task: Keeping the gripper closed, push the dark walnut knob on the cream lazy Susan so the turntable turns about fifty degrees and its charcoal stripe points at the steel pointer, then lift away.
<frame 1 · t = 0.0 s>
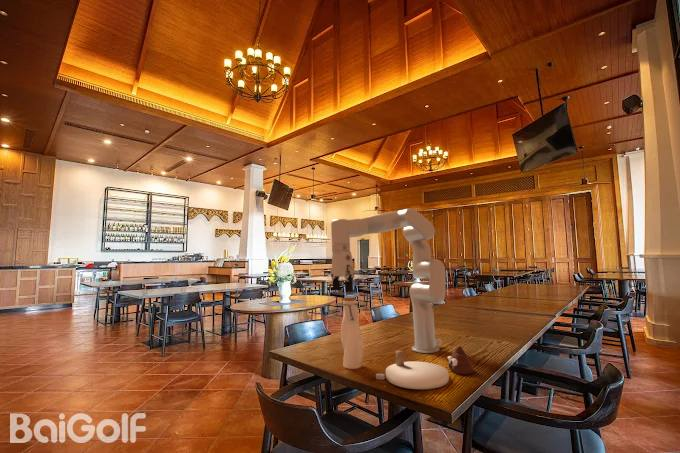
hand: (342, 290, 129), 31 cm above the table, tool pointing down, fingers open, 9 cm apart
poop emoji: (460, 371, 120), on the table
pointer: (380, 378, 115), on the table
water bottle: (353, 366, 130), on the table
turntable: (416, 366, 114), point 4 cm above the table, hinge at 0.0°
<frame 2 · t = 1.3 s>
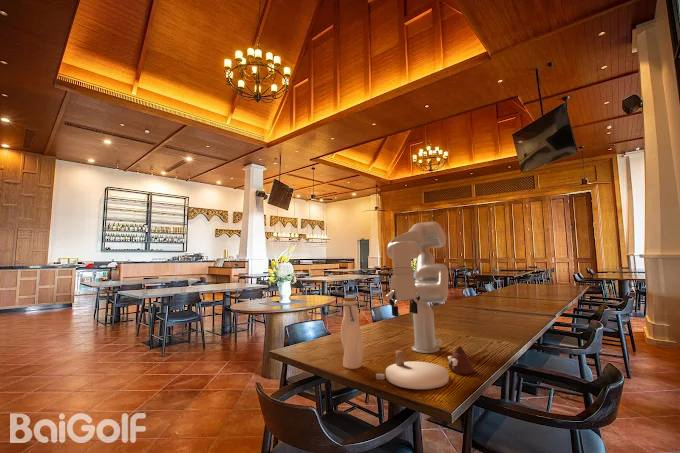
hand: (405, 314, 127), 21 cm above the table, tool pointing down, fingers open, 9 cm apart
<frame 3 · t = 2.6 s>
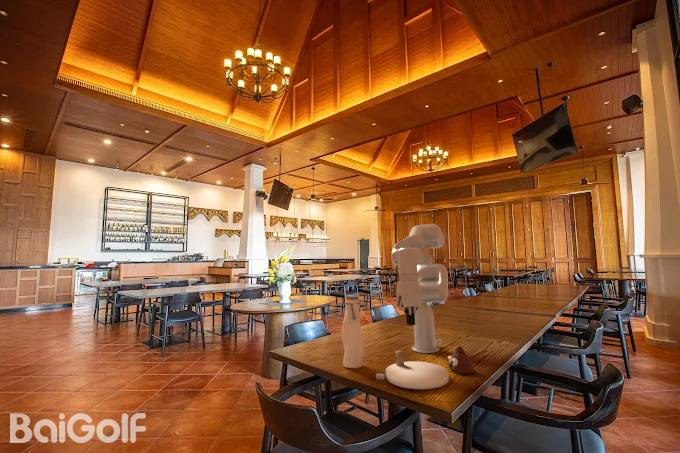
hand: (410, 324, 126), 17 cm above the table, tool pointing down, fingers closed
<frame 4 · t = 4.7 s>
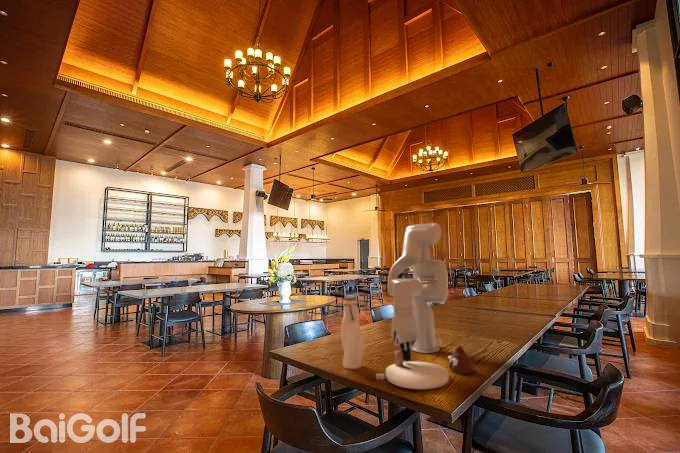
hand: (406, 359, 123), 4 cm above the table, tool pointing down, fingers closed
turntable: (416, 366, 114), point 4 cm above the table, hinge at 3.3°, touching gripper
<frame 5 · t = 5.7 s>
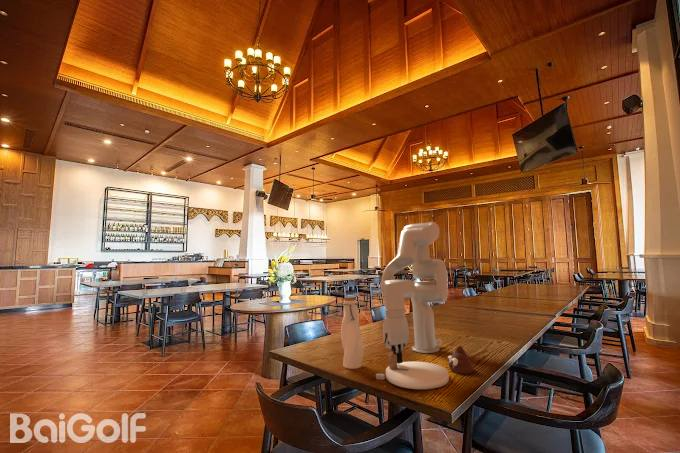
hand: (398, 362, 121), 4 cm above the table, tool pointing down, fingers closed
turntable: (416, 366, 114), point 4 cm above the table, hinge at 32.5°, touching gripper
everything else where it was.
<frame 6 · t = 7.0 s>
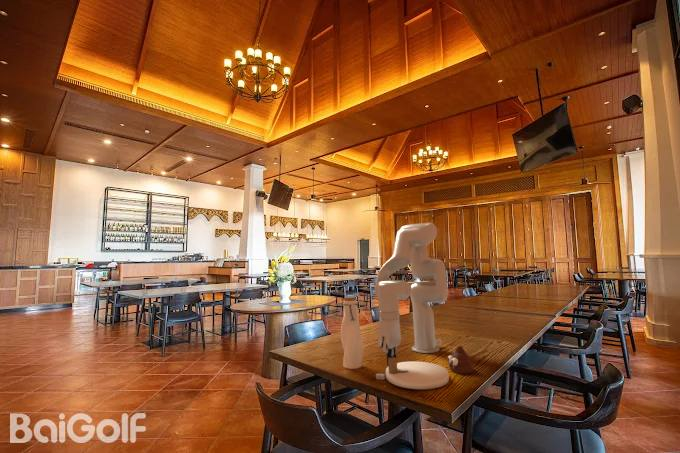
hand: (392, 365, 118), 4 cm above the table, tool pointing down, fingers closed
turntable: (416, 366, 114), point 4 cm above the table, hinge at 61.9°, touching gripper
everything else where it was.
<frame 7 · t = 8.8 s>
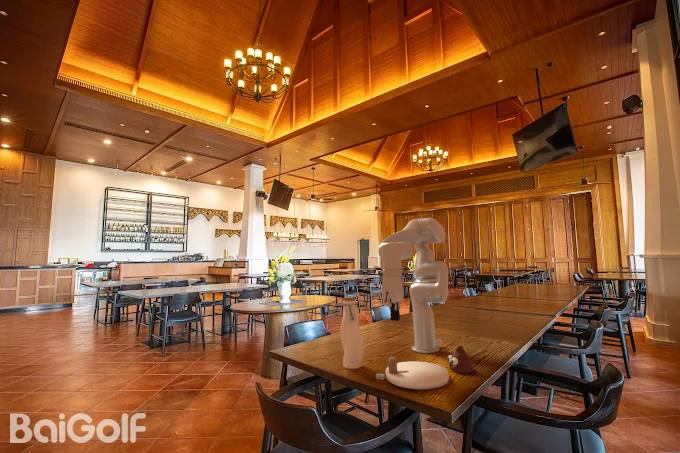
hand: (395, 320, 124), 19 cm above the table, tool pointing down, fingers closed
turntable: (416, 366, 114), point 4 cm above the table, hinge at 62.0°
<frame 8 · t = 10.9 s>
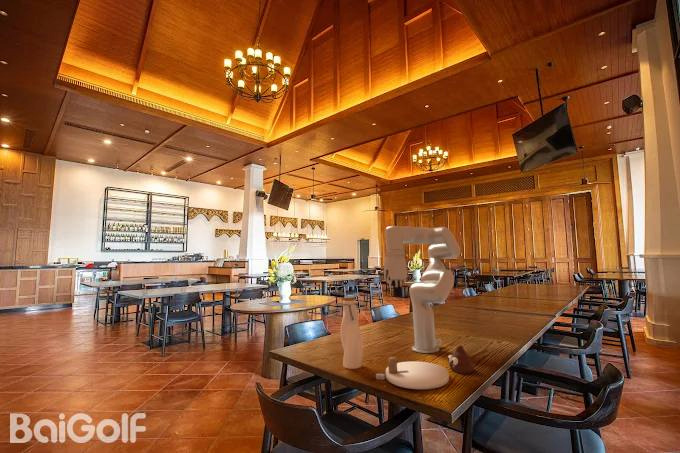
hand: (397, 296, 138), 27 cm above the table, tool pointing down, fingers closed
at the end: turntable at +62° (first picture: +0°); poop emoji moved 1.3 cm from its start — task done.
